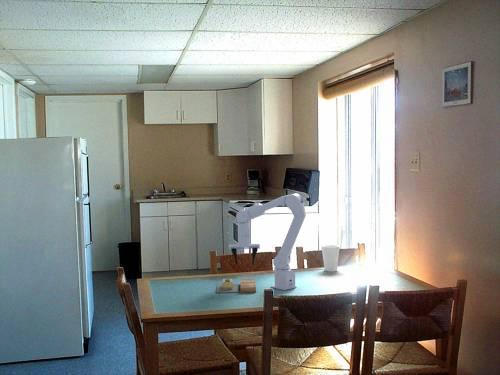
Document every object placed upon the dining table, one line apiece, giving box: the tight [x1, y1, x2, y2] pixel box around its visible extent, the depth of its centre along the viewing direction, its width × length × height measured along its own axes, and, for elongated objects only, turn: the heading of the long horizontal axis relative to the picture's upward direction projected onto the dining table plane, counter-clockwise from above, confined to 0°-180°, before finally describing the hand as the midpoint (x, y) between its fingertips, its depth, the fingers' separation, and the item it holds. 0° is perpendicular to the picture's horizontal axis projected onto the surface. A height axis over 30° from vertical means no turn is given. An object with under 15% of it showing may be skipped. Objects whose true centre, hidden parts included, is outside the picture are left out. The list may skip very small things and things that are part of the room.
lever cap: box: [222, 277, 234, 290], centre depth 272 cm, size 7×4×4 cm, turn 2°
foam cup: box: [321, 243, 341, 272], centre depth 309 cm, size 10×9×13 cm
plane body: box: [239, 278, 257, 294], centre depth 272 cm, size 18×7×2 cm, turn 1°
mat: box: [215, 283, 240, 294], centre depth 272 cm, size 16×10×1 cm, turn 1°
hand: (244, 264), depth 277 cm, fingers open, 7 cm apart
